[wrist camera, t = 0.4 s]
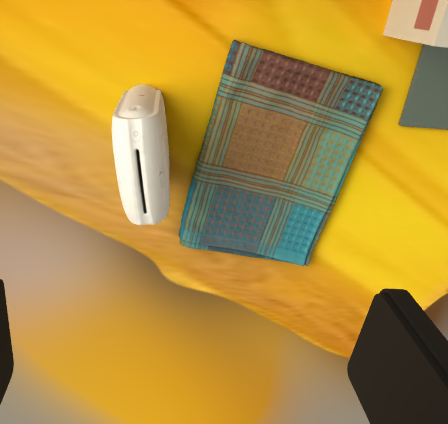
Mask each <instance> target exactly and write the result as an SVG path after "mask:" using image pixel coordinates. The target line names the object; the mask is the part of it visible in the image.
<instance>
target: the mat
mask: <svg viewBox="0 0 448 424" xmlns="http://www.w3.org/2000/svg"><path fill="white" fill-rule="evenodd" d="M399 125H400V126H409V127H422V128H435V129H448V48H446V47H437V46H431V45H426V44H423V46H422V50H421V53H420V56H419V59H418V63H417V66H416V69H415V72H414V75H413V79H412V82H411V85H410V88H409V92H408V95H407V98H406V101H405V105H404V108H403V111H402V114H401V118H400V121H399Z"/></svg>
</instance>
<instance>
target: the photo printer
mask: <svg viewBox="0 0 448 424" xmlns="http://www.w3.org/2000/svg"><path fill="white" fill-rule="evenodd" d="M112 141H113V151H114V159H115V167H116V173H117V179H118V185H119V191H120V195H121V200H122V204H123V208H124V211H125V213H126V215H127V217H128V219H129V220H130V221H131V222H132V223H134V224H137V225H144V224H157V223H159V222H161V221H163V220H164V219H165V218H166V217H167V215H168V211H169V206H170V188H169V171H170V162H169V145H168V133H167V122H166V114H165V105H164V100H163V96H162V93H161V90H156V89H155V88H154V87H152V86H149V85H137V86H134V87H133V88H131V89H130V90H129V91H125V92H124V93H123V95H122V97H121V99H120V101H119V103H118V105H117V107H116V109H115V112H114V114H113V119H112Z"/></svg>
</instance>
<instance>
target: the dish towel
mask: <svg viewBox="0 0 448 424" xmlns="http://www.w3.org/2000/svg"><path fill="white" fill-rule="evenodd" d="M382 90H383V87H381V86H380V85H379V84H377V83H374V82H371V81H367V80H364V79H361V78H357V77H355V76H349V75H347V74H343V73H339V72H335V71H332V70H329V69H326V68H322V67H319V66H317V65H313V64H310V63H307V62H304V61H301V60H298V59H294V58H291V57H287V56H284V55H281V54H277V53H275V52H272V51H268V50H265V49H260V48H257V47H254V46H250V45H248V44H246V43H240V42H238V41H237V40H233V42H232V45H231V48H230V51H229V54H228V57H227V60H226V64H225V67H224V70H223V74H222V78H221V81H220V85H219V88H218V91H217V95H216V99H215V104H214V107H213V110H212V115H211V117H210V121H209V124H208V127H207V131H206V134H205V137H204V142H203V145H202V150H201V152H200V156H199V159H198V162H197V166H196V169H195V172H194V175H193V179H192V182H191V186H190V189H189V192H188V196H187V201H186V204H185V209H184V211H183V216H182V220H181V227H180V231H179V236H180V244H181V245H183V246H186V247H189V248H194V249H203V250H211V251H219V252H225V253H231V254H237V255H243V256H249V257H257V258H264V259H270V260H276V261H284V262H288V263H294V264H298V265H301V266H304V265H307V266H309V262H310V259H311V254H312V251H313V248H314V246H315V243H316V241H317V240H318V238H319V235H320V233H321V231H322V228H323V226H324V225H325V222H326V220H327V218H328V216H329V214H330V212H331V210H332V207H333V205H334V203H335V201H336V198H337V195H338V193H339V191H340V188H341V186H342V184H343V181H344V179H345V177H346V174H347V172H348V170H349V168H350V165H351V162H352V161H353V158H354V156H355V153H356V151H357V148H358V146H359V144H360V141H361V139H362V137H363V136H364V133H365V131H366V128H367V126H368V124H369V121H370V119H371V116H372V114H373V112H374V110H375V107H376V105H377V102H378V100H379V97H380V95H381V92H382Z"/></svg>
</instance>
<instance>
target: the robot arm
mask: <svg viewBox="0 0 448 424" xmlns="http://www.w3.org/2000/svg"><path fill="white" fill-rule="evenodd" d="M13 366H14V362H13V353H12V345H11V337H10V329H9V321H8V313H7V305H6V297H5V289H4V283H3V281H2V280H1V279H0V404H1V402H2V399H3V397H4V394H5V392H6V389H7V387H8V384H9V382H10V379H11V376H12V373H13ZM347 369H348V376H349V379H350V381H351V383H352V386H353V388H354V390H355V392H356V394H357V396H358V398H359V401H360V403H361V405H362V407H363V409H364V411H365V413H366V415H367V418H368V420H369V422H370V424H448V341H447V340H446V338H445V337H444V336H443V335H442V333H441V332H440V331H439V330H438V328H437V327H436V326H435V325H434V323H433V322H432V321H431V320H430V318H429V317H428V316H427V315H426V313H425V312H424V311H423V310H422V308H421V307H420V306H419V305H418V303H417V302H416V301H415V300H414V298H413V297H412V296H411V294H410V293H409V292H408V291H407V290H404V289H383V290H381V291H380V293H379V294H376V295H375V296H374V298H373V301H372V303H371V306H370V309H369V311H368V314H367V316H366V319H365V321H364V324H363V327H362V329H361V332H360V334H359V337H358V340H357V342H356V345H355V347H354V350H353V352H352V355H351V358H350V360H349V363H348V368H347Z"/></svg>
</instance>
